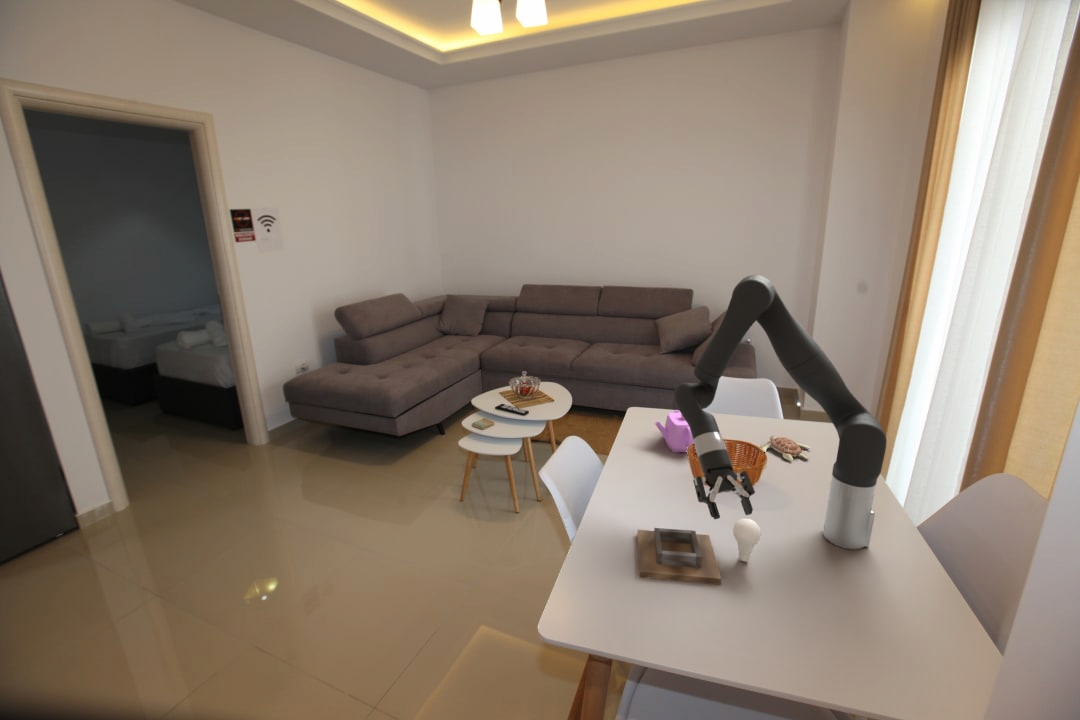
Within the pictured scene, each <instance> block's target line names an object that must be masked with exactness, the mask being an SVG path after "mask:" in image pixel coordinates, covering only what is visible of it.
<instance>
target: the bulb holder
mask: <svg viewBox="0 0 1080 720" xmlns="http://www.w3.org/2000/svg"><path fill="white" fill-rule="evenodd" d="M653 529H654V530H647V529H646V530H645V529H637V534H636V535H637V536H638V537H637V552H638V568H639V569H638V570H639V571H638V572H639V578H645V577H650V578H649V579H656V578H661V579H660V580H667V579H670V581H678V580H681V581H680V582H691V583H692V582H693V583H703V584H713V585H715V584H716V585H722V576H721V572H720V569H719V566H718V562H717V558H716V555H715V551H714V547H713V545H712V540H711V537H710V534H699V533H697V532H696V530H688V529H687V530H686V529H677V528H665V527H664V528H661V527H654V528H653Z"/></svg>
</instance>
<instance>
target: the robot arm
mask: <svg viewBox="0 0 1080 720" xmlns="http://www.w3.org/2000/svg"><path fill="white" fill-rule="evenodd" d="M796 319H797V318H795V317H794V316H793V315H792V313H791V312H790V310H789V309H788V307H787V306H786V304H785V303H784V301H783V299H782V298H781V296H780V295H779V293H778V290H776V287H775V286H774V285H773V283H772V281H771V280H770V279H768V278H767V277H765V276H763V275H759V274H752V275H747V276H745V277H744V278H742V279H741V280H740V281H739V282H738V283H737V284H736V285H735V287H734V288H733V290H732V294H731V298H730V301H729V304H728V306H727V309H726V312H725V314H724V317H723V319H722V321H721V323H720V325H719V327H718V329H717V330H716V332H715V334H714V335H713V336H712V338H711V340H710V341H709V343H708V344H707V345H706V347H705V349H704V351H703V353H702V354H701V355H700V358H699V360H698V361H697V363H696V364H695V366H694V369H693V374H694V376H695V377H696V378H697V379H698V383H692V382H681V383H680V384H678V385H677V386H676V388H675V389H674V394H673V396H674V397H673V398H674V403H675V405H676V407H677V409H678V411H679V413H681V414H682V415H683V417H684V419H685V420H686V422H687V423H688V425H689V427H690V430H691V433H692V436H693V439H694V444H695V449H696V452H695V453H696V456H697V458H698V461H699V464H700V468H701V471H702V473H703V475H704V476H703V477H702V476H700V475H699V476H696V477H695V478H694V479H693V484H694V488H695V489H694V490H695V494H696V498H697V501H698V502H699V503H704V504H706V506H707V508H708V511H709V515H710V517H711V518H713V520H718V519H720V518H721V516H720V511H719V509H718V506H717V502H715V499H716V496H717V495H718V494H721V493H730V492H731V493H732V494H734V495H736V496H737V497H738V498H739V499H740V503H741V506H742V509H743V512H744V514H745V516H749V515H752V514H753V511H754V509H753V506H752V503H751V500H750V497H751V496H753V495H755V493H756V491H755V488H754V486H753V484H752V481H751V478H750V477H749V475H748V472H747V471H746V470H743V471H740V472H735V471H734V468H733V463H732V460H731V457H730V455H729V454H730V453H729V452H728V449H727V446H726V443H725V440H724V439H723V436H722V434H721V431H720V429H719V426H718V423H717V420H716V418H715V416H714V415H713V414H712V413H710V412H706V411H705V410H704V409H707V408H708V407H710V406H711V405H712V403H713V401H714V400H715V397H716V395H717V393H716V392H717V390H718V387H719V382H720V379H721V377H722V376H723V374H724V373H725V371H726V369H727V367H728V366H729V364H730V363H731V360H732V359H733V357H734V356H735V353H736V351H737V350H738V349H737V348H738V347H739V345H740V343H741V342H742V340H743V338H744V337H745V335H746V334H747V332H748V331H749V330H750V328H751V327H752V326H753V325H754V324H755V322H757V323H758V325H759V326H760V327H761V328H762V330H763V331H764V332H765V334H766V336H767V337H768V340H769V342H770V344H771V346H772V349H773V351H774V353H775V354H776V357H777V359H778V360H779V363H780V364H781V366H782V367H783V368H784V369H785V372H787V373H788V375H789V376H790V377H791V378H792V380H793V381H794V382H795V383H796V385H797V386H798V387H800V389H801V390H802V391H804V393H806V394H807V395H808V397H810V398H812V399H813V400H814V401H815V402H816V403H817V404H818V405H819V406H820V407H821V408H822V410H823V411H824V412H825V413H826V415H827V416H828V418H829V420H830V421H831V423H832V425H833V427H834V428H835V430H836V432H837V436H838V439H839V441H838V448H837V453H836V459H835V462H834V464H833V466H832V472H831V479H830V487H829V493H828V499H827V505H826V511H825V518H824V524H823V530H822V535H823V536H824V538H825V539H826V540H827V541H829V542H830V543H831V544H833V545H835V546H838V547H841V548H843V549H847V550H861V549H862V548H869V547H870V542H871V537H872V532H873V526H874V521H875V516H876V513H875V512H874V511H873V505H874V498H875V492H876V487H877V481H878V479H879V477H880V475H881V472H882V468H883V464H884V460H885V456H886V455H885V454H886V449H887V435H886V434H885V431H884V429H883V427H882V425H881V424H880V422H879V421H878V419H877V418H876V417H875V416H874V415H873V414H872V413H871V412H869V410H868V409H867V408H865V406H864V405H863V404H862V403H861V402H860V401H859V400H858V399H857V398H856V397H855V395H853V393H852V392H851V391H850V390H849V388H848V387H847V385H846V383H845V381H844V380H843V378H842V376H841V374H840V372H839V371H838V369H837V368H836V367H835V365H834V364H833V362H832V361H831V360H830V358H829V357H828V356H827V354H826V353H825V352H824V350H823V349H822V348H821V346H820V345H819V344H818V343H817V342H816V341H815V339H813V337H812V336H811V335H810V334H809V332H808V331H807V330H806V329H805V328H804V326H802V325H801V323H800V322H799V321H798V320H796ZM737 480H738V482H737ZM739 482H740V483H739ZM705 484H706V485H707V486H708V487H709V489H708V490H707V493H706V490H705V487H704V486H705Z"/></svg>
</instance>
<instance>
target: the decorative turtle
mask: <svg viewBox="0 0 1080 720" xmlns="http://www.w3.org/2000/svg"><path fill="white" fill-rule="evenodd" d="M769 441H770V442H767V443H764V444H761V445H760V446H759V448H761V449H763V450H764V451H765V453H764V454H766V452H767V450H768V448H770V447H771V448H772V449H773V450H774V451H776V452H778V453H779V454H780V455H782V457H783V458H784V459H785V460H787V461H793V460H794V458H793V457H797V456H801V457H802V458H803V459H806V460H809V459H810V456H809V455H808V453H805V452H803V449H802V448H804V449H807V450H810V449H811V447H810V446H808V445H806V444H803V443H801V442H796V441H794V440H792V439H790V438H788V437H783V436H781V437H780V436H779V437H777V436H776V435H771V436H770V437H769Z"/></svg>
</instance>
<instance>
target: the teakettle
mask: <svg viewBox="0 0 1080 720" xmlns="http://www.w3.org/2000/svg"><path fill="white" fill-rule="evenodd" d="M654 425H655V426H656V427H657V429H658V430H659V432H660V433H661V435H662V436H663V437H664V440H665V444H666V445H667V447H668V448H669V449H670V451H671V452H673V453H675V452H685V453H684V454H686V451H687V447H689V446H690V445H692V444H694V439H693V436H692V433H691V430H690V427H689V425H688V423H687V422H686V420H685V419H684V417H683V415H682V414H681V412H680V411H679V409H678V410H677V409H676V410H674V412H669V413H667V416H666V419H665V424H664V425H663V424H662V423H661V421H659V420H658V421H655V422H654Z"/></svg>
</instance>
